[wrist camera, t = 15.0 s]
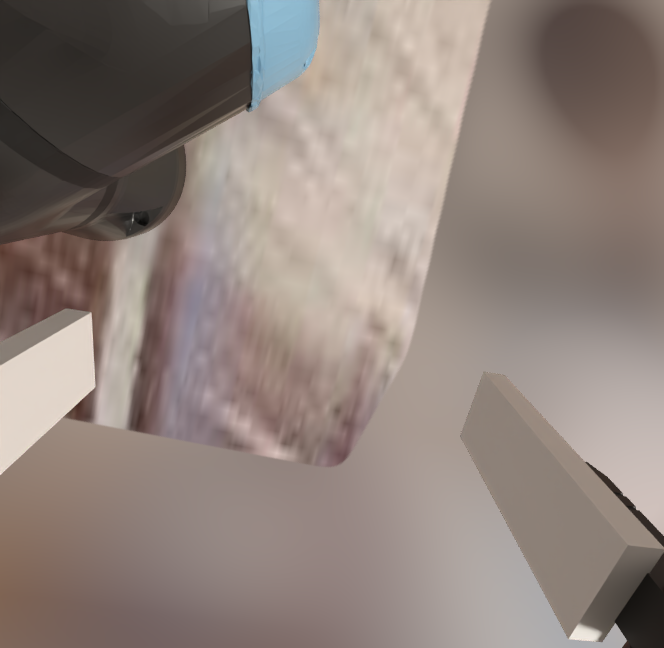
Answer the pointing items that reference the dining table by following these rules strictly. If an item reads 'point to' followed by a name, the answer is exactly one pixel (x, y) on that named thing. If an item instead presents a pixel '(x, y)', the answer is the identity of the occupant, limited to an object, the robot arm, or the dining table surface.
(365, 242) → the dining table surface
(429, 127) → the dining table surface
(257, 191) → the dining table surface
